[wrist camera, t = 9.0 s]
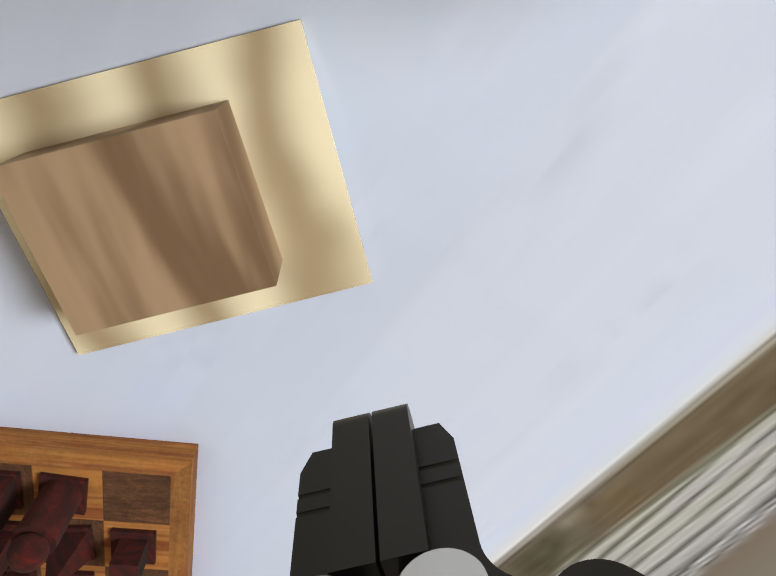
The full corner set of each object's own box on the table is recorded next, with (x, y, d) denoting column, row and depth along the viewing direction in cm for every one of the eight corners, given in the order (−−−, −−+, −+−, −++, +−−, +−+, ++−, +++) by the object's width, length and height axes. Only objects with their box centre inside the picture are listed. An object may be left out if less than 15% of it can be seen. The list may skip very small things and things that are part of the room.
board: (300, 19, 32) (300, 19, 32) (372, 280, 39) (372, 282, 39) (-48, 111, 33) (-52, 112, 33) (81, 351, 40) (78, 355, 39)
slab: (214, 110, 30) (-13, 168, 30) (276, 285, 34) (76, 335, 34) (228, 99, 34) (25, 152, 34) (282, 259, 38) (101, 305, 38)
